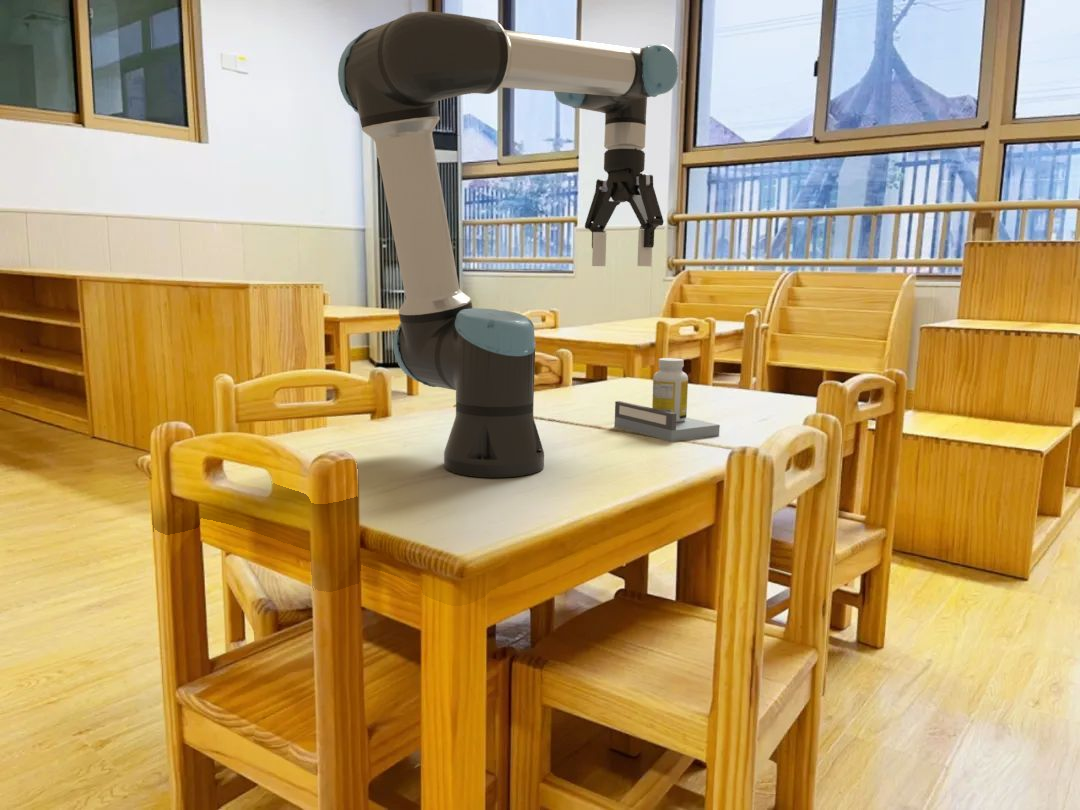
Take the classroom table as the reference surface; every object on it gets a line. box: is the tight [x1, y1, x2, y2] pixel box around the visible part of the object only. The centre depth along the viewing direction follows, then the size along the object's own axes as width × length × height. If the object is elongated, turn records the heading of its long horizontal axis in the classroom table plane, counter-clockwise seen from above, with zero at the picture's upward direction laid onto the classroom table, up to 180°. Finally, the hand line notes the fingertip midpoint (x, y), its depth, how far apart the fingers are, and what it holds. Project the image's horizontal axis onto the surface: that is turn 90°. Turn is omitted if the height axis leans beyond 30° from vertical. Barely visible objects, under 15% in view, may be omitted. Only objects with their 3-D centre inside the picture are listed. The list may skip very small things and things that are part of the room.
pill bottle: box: [651, 357, 689, 422], centre depth 153 cm, size 6×6×12 cm
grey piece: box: [614, 400, 721, 442], centre depth 153 cm, size 12×16×5 cm
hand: (620, 266), depth 154 cm, fingers open, 13 cm apart
